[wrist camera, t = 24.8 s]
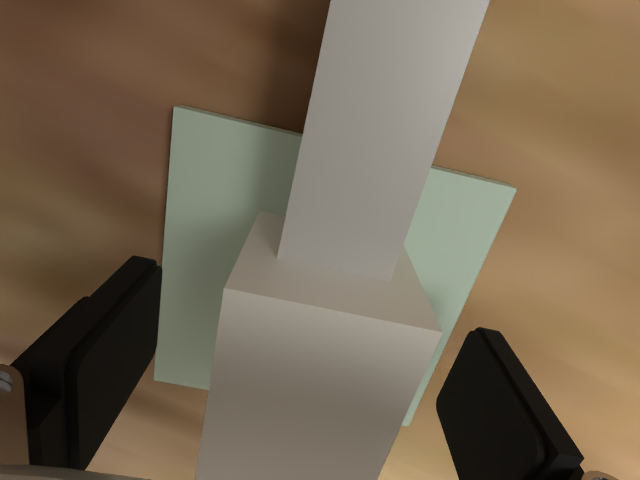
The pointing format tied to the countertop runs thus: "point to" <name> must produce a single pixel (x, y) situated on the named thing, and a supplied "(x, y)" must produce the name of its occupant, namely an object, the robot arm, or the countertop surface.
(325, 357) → the plug
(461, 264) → the mat
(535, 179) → the countertop surface
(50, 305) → the countertop surface
